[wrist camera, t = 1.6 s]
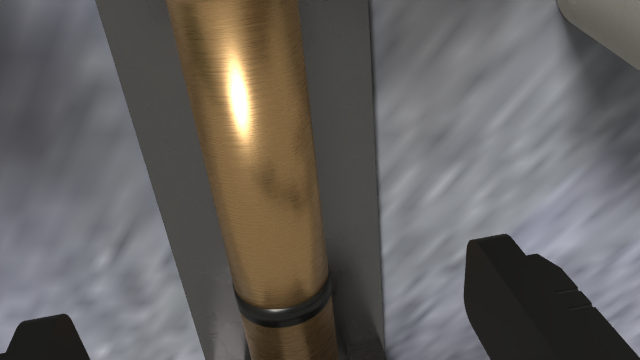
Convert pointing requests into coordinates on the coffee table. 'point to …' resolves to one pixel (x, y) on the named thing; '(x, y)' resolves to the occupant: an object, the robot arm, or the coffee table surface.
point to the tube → (261, 167)
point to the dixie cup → (608, 24)
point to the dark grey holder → (193, 185)
